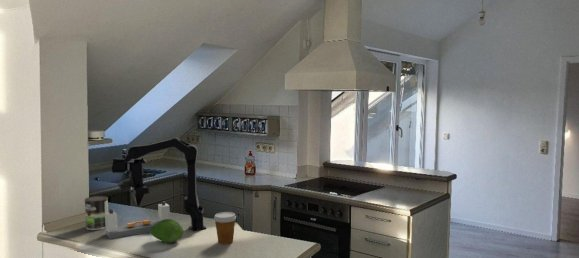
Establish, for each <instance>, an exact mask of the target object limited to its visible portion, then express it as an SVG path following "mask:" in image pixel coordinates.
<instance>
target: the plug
mask: <svg viewBox="0 0 579 258" xmlns="http://www.w3.org/2000/svg"><path fill="white" fill-rule="evenodd" d="M170 206H171V205H169V204H168V203H166V201H165V200H164V201H161V204H160V203H159V204H157V208H158V209H157V210H158V211H157V212H158V220H159V221H162V220H165V219H171V213H170V212H171V210H170V209H171V207H170Z"/></svg>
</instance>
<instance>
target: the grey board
mask: <svg viewBox="0 0 579 258" xmlns="http://www.w3.org/2000/svg"><path fill="white" fill-rule="evenodd" d="M150 222H151V223H150V224H142V223H137V224H135V226H132V227H127V224H126V225H121V226H120V225H119V226H118V231H115V232H108V231H107V230H106V229H105V235H106V237H107V238H108V239H109V240H112V239H118V238H122V237H123V238H124V237H128V236H133V235H134V236H135V235H139V234H145V233H150V231H151V228H152V226H153V225H154V224H156V223H157V222H160V221H159V219H155V220H150Z"/></svg>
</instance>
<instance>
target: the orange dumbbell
mask: <svg viewBox="0 0 579 258" xmlns="http://www.w3.org/2000/svg"><path fill="white" fill-rule="evenodd" d="M150 221H151V220H150V219H146V220H140V221H139V220H138V221H133V222H128V223H126V225H127V227H132V226H135V224H137V223H142V224H150V223H151V222H150Z"/></svg>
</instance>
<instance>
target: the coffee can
mask: <svg viewBox="0 0 579 258" xmlns="http://www.w3.org/2000/svg"><path fill="white" fill-rule="evenodd" d="M108 199H109V197H108V196H105V195H95V196H94V195H93V196H89V197H86V198H84V205H85V206H84V207H85V208H84V209H85V210H84V211H85V226H86V227H85V229H86V230H88V231H100V230H104V229H106V212H109V202H108Z"/></svg>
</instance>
